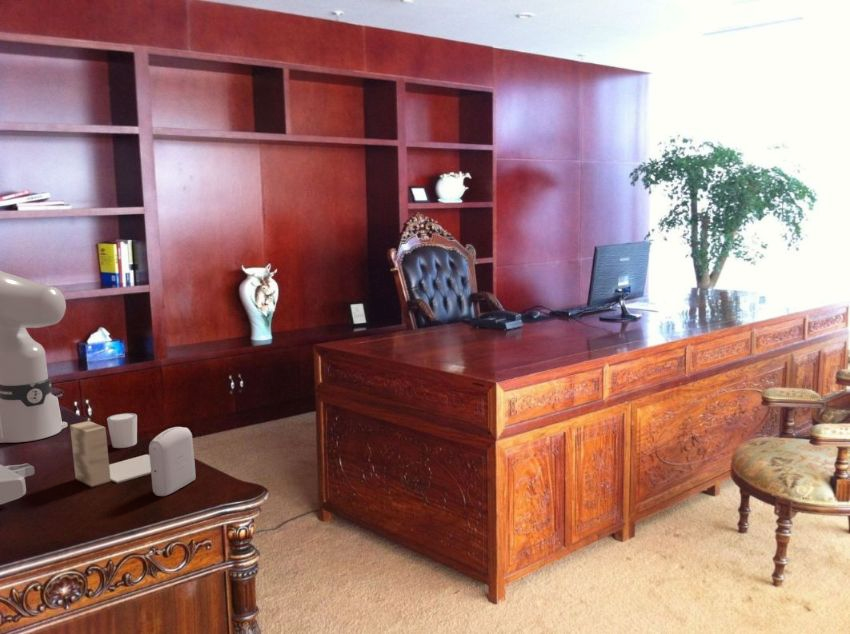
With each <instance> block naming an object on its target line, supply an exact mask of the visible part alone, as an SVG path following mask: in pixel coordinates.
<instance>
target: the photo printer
mask: <svg viewBox="0 0 850 634" xmlns="http://www.w3.org/2000/svg"><path fill="white" fill-rule="evenodd" d="M148 455H150V466H151V474H150V475H151V487H152V491H153V493H154V495H155V496H158V497H166V496H168V495H170V494H172V493H174V492H176V491H178V490H179V489H181V488H183V487H185V486H187V485H189V484H190V483H192V482H193V481H195V480H196V479H197V478H196V477H197V476H196V473H197V472H196V466H195V465H196V464H195V452H194V442H193V434H192V432H191V430H190V429H189V428H188V427H182V426H174V427H170V428H167V429H165V430H164V431H162V432H160V433H159V434H158V435H156V436H155V437H154V438H153V439H152V440H151V441H150V443H149V446H148Z"/></svg>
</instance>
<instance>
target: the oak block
mask: <svg viewBox="0 0 850 634" xmlns="http://www.w3.org/2000/svg"><path fill="white" fill-rule="evenodd" d="M69 428H70V429H69V430H70V437H71V439H70V440H71V447H72V458H73V466H74V468H73V469H74V474H75V475H74V476H75V480H77V481H78V482H81V483H82V484H85V485H86V486H88V487H90V488H94V487H98V486H102V485H106V484H109V483H111V482H112V480H111V478H110V468H109V465H110V460H109V459H110V457H109V452H108V451H109V450H108V439H107V429H106V427H105V426H103V425H101V424H98V423H95V422H93V421H89V420H86V421H82V422H78V423H74V424H69Z"/></svg>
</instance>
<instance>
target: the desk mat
mask: <svg viewBox="0 0 850 634" xmlns="http://www.w3.org/2000/svg"><path fill="white" fill-rule="evenodd" d="M109 468H110V478H111V482H114V483H116V484H120V483H123V482H126V481H130V480H133V479H137V478H139V477H143V476H147V475H151V466H150V455H149V454H143V455H139V456H136V457H132V458H128V459H124V460H122V461H118V462H114V463H109Z"/></svg>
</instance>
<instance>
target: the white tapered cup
mask: <svg viewBox="0 0 850 634" xmlns="http://www.w3.org/2000/svg"><path fill="white" fill-rule="evenodd" d="M106 421H107V426H108V431H109V436H110V441H111V446H112V448H116V449H124V448H130V447H134V446H135V445H137V443H138V415H137V414H136V413H132V412H130V413H129V412H126V413H125V412H124V413H119V414H113V415H110V416H108V417H107V418H106Z"/></svg>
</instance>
